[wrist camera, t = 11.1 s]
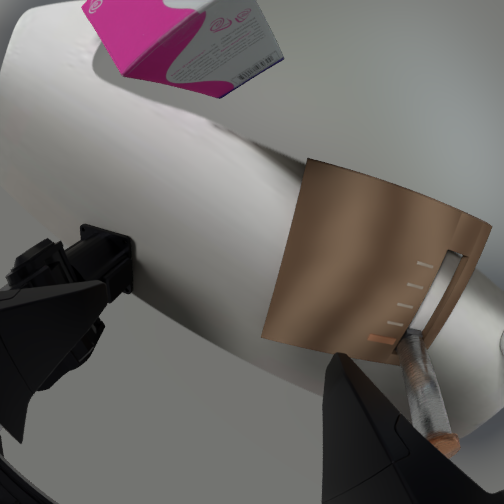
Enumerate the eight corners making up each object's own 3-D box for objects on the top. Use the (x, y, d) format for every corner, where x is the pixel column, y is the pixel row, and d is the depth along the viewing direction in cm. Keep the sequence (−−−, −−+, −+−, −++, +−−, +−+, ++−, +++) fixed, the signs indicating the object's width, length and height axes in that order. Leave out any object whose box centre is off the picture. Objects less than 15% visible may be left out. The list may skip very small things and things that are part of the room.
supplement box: (241, 5, 14) (177, -77, 4) (286, 60, 16) (256, -14, 6) (179, 47, 17) (75, 6, 6) (218, 101, 18) (122, 84, 8)
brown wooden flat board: (262, 330, 26) (260, 338, 25) (307, 157, 19) (307, 159, 18) (412, 361, 24) (414, 368, 23) (486, 222, 17) (493, 226, 16)
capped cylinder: (384, 348, 24) (402, 469, 12) (401, 321, 22) (434, 447, 11) (413, 353, 24) (438, 465, 12) (430, 327, 22) (470, 442, 10)
